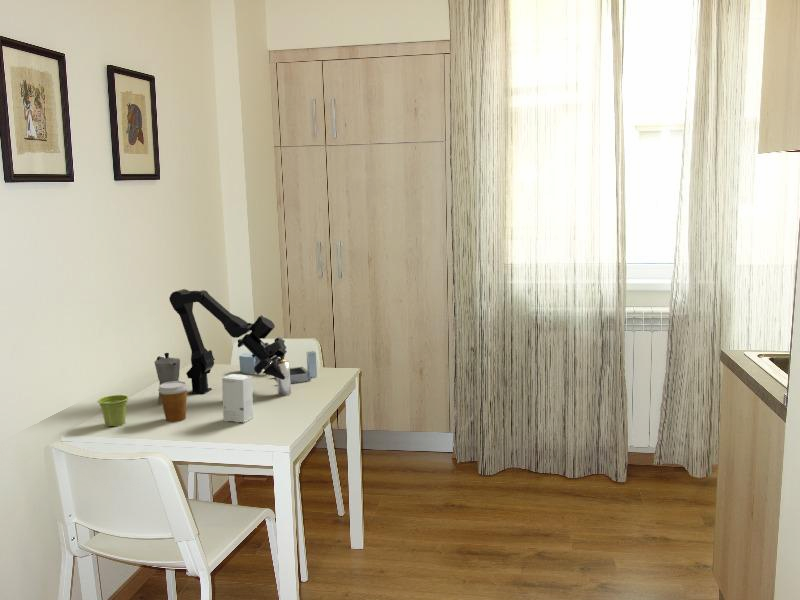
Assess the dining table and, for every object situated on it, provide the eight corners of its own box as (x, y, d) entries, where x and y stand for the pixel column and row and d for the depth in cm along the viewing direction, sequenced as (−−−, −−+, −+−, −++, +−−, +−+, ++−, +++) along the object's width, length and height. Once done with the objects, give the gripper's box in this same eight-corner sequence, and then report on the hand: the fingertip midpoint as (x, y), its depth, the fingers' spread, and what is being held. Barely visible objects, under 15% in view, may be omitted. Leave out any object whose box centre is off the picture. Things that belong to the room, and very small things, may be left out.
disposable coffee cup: (166, 415, 249) (163, 381, 247) (194, 414, 249) (191, 380, 247) (157, 424, 240) (153, 389, 238) (185, 423, 240) (182, 388, 238)
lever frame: (277, 374, 298) (276, 357, 297) (239, 373, 302) (238, 356, 301) (283, 370, 305) (282, 353, 304) (246, 369, 308) (245, 352, 307)
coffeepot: (191, 401, 264) (186, 353, 261) (166, 407, 258) (161, 358, 255) (172, 393, 276) (168, 347, 273) (148, 399, 270) (144, 351, 267)
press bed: (281, 385, 282) (279, 359, 280) (274, 377, 293) (272, 353, 292) (320, 379, 288) (318, 354, 286) (312, 372, 299) (310, 348, 298)
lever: (283, 351, 298) (281, 345, 297) (256, 362, 301) (253, 357, 301) (287, 349, 301) (284, 343, 301) (259, 360, 305) (257, 355, 304)
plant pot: (121, 417, 248) (118, 393, 247) (136, 422, 242) (133, 397, 241) (95, 425, 241) (92, 400, 240) (110, 430, 235) (107, 404, 234)
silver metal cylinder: (288, 396, 267) (286, 361, 265) (276, 395, 268) (273, 361, 266) (293, 392, 271) (291, 358, 269) (281, 392, 272) (278, 358, 270)
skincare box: (223, 421, 240) (219, 377, 238) (233, 416, 246) (230, 373, 243) (245, 423, 237) (242, 379, 235) (255, 417, 243) (252, 374, 240)
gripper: (260, 337, 258) (291, 368, 257) (280, 327, 276) (309, 356, 275) (241, 358, 261) (271, 389, 260) (262, 347, 279) (291, 375, 278)
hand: (287, 376), depth 268 cm, fingers closed on silver metal cylinder, 5 cm apart
